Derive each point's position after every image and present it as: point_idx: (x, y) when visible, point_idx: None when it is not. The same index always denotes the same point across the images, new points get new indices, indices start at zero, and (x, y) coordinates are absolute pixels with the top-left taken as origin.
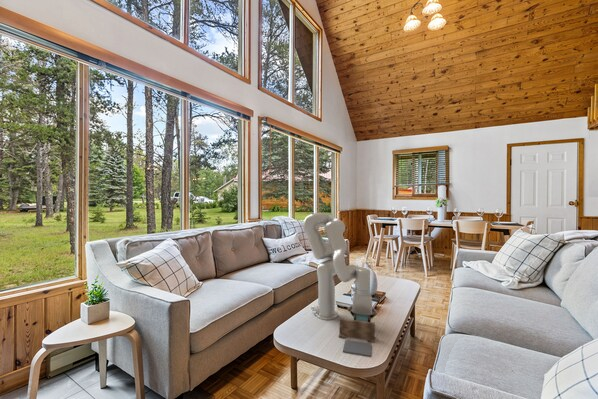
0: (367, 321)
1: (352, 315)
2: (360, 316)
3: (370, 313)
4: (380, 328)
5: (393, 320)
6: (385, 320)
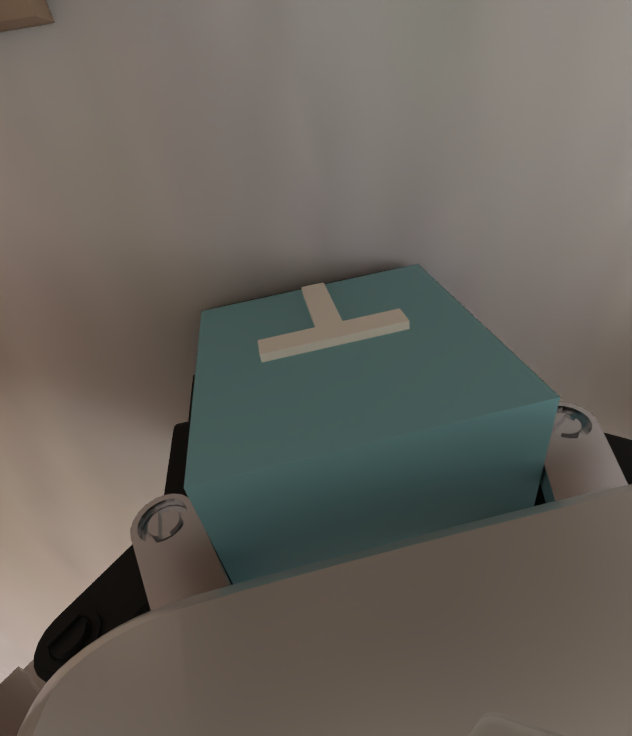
0: (197, 410)
1: (612, 435)
2: (425, 463)
3: (46, 729)
4: (33, 457)
5: (14, 664)
6: None
